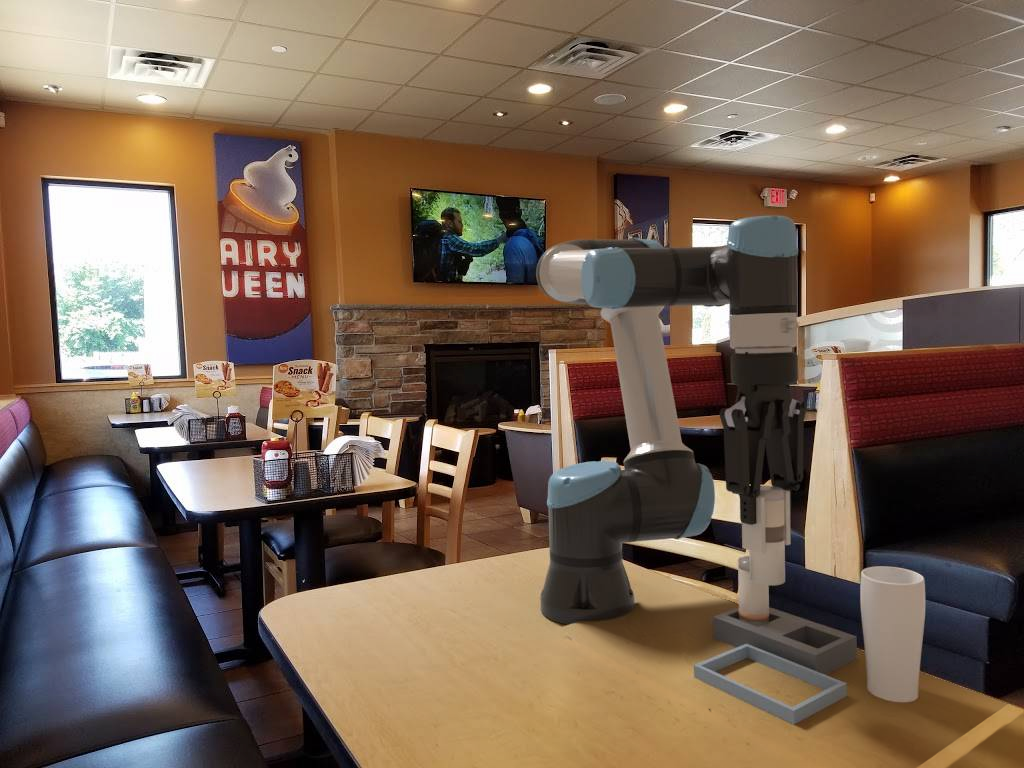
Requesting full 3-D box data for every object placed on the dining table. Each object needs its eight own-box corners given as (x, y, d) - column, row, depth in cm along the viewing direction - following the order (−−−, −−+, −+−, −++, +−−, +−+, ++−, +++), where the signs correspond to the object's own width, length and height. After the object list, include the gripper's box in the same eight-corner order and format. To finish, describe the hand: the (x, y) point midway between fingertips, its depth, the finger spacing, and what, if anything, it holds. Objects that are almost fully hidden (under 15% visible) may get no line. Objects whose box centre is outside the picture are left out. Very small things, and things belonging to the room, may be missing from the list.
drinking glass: (923, 719, 82) (923, 588, 81) (857, 704, 85) (856, 579, 84) (926, 693, 88) (926, 570, 87) (864, 680, 91) (863, 562, 90)
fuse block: (713, 644, 103) (712, 616, 103) (753, 628, 108) (753, 601, 108) (815, 686, 90) (815, 655, 90) (856, 666, 95) (856, 636, 95)
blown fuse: (742, 579, 88) (740, 489, 87) (763, 572, 90) (762, 484, 90) (771, 588, 85) (769, 494, 84) (792, 580, 87) (791, 489, 86)
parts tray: (694, 684, 92) (693, 665, 92) (746, 661, 97) (746, 643, 97) (793, 732, 80) (793, 710, 80) (846, 703, 86) (846, 683, 85)
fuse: (732, 636, 103) (731, 559, 103) (751, 628, 106) (750, 554, 105) (757, 645, 100) (756, 566, 99) (775, 637, 102) (774, 560, 101)
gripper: (742, 353, 78) (746, 568, 79) (835, 347, 88) (836, 539, 89) (689, 353, 84) (693, 553, 86) (781, 348, 94) (783, 527, 95)
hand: (766, 545), depth 87 cm, fingers closed on blown fuse, 4 cm apart
